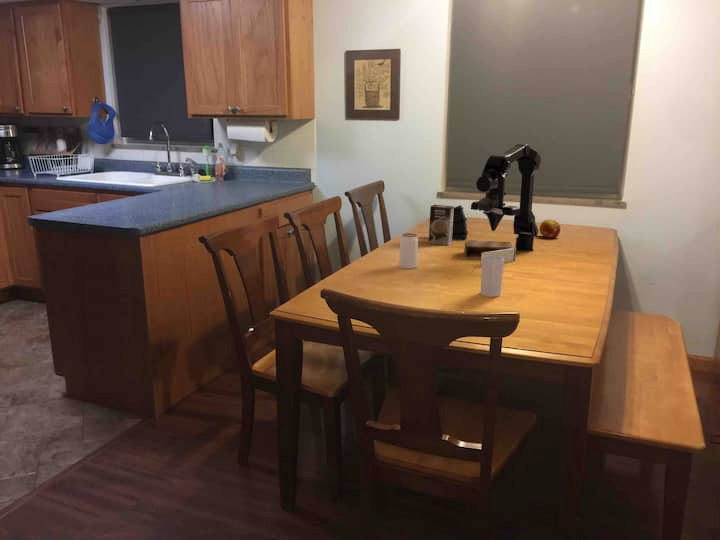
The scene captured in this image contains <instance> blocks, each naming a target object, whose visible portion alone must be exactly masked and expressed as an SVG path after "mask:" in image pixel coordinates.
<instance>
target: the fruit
mask: <svg viewBox="0 0 720 540" xmlns="http://www.w3.org/2000/svg"><path fill="white" fill-rule="evenodd" d="M539 233H540V235H542V236H543V237H545V238H549V239H555V238H557V237H558V236H560V233H561V225H560V223H559V222H557V221H556V220H553V219H545V220H543V221H542V222H541V223H540V225H539Z"/></svg>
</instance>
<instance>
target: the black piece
mask: <svg viewBox="0 0 720 540" xmlns="http://www.w3.org/2000/svg"><path fill="white" fill-rule="evenodd" d="M467 220H468V218H467V217H466V215H465V212H464V207H463V206H462V204H460V205H457V206H454V215H453V229H452V239H453V240H459V239H461V240H463V241H465V240H468V234H469V231H468V225H467Z"/></svg>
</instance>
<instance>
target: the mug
mask: <svg viewBox="0 0 720 540" xmlns="http://www.w3.org/2000/svg"><path fill="white" fill-rule="evenodd" d="M504 264H505V263H504V257H501V256H497V255H485V256H482V266H481V274H480V291H479V292H480V294H481V296H484V297H489V298H496V297H500V296H501V294H502V293H501V292H502V284H503V274H504Z"/></svg>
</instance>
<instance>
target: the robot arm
mask: <svg viewBox="0 0 720 540" xmlns="http://www.w3.org/2000/svg"><path fill="white" fill-rule="evenodd" d="M514 162H517V169H518V171H519V172H520V174H521V184H520V195H519V196H520V198H519V206H516V205H507V206H506V203H505V202H504V199H505V198H504V197H505V196H507V192H505V185H506V177H508V174H507V171H508V170H510V168H511V164H513V163H514ZM541 163H542V158H541V156H540V154H539V152H538V151H536V150H534V149H533V148H531V147H530V145H528V144H523V143H522V144H521V143H518V144H515V145H514V147H511V148H510V149H507V151H504V152H503V153H495V154H491V155H489V157H488V158H487V160H486V162H485V166H484V168H483V170H482V173H481V176H479V178H478V177H477V181H476V183H475V186H476V188H477V190H478V192H480V193H485V197H483V198H481V199H479V200H477V201H472V202H471V204H470V210H474V211H482V214H484V215H485V216H486V217H487V220H488V222H489V226H490V229H491V231H492V232H495V231H496V230H497V228H498V226H499V224H500V222H501V220H502V219H503V218H504V217H505V216H509V217H513V224H512V226H513V227H512V228H513V234H514V235H517V236H516V237H515V245H514V246H515V247H514V248H516V251H524V252H525V251H527V252H534V237H536V238H537V237H538V235H539V232H540V229H539V228H538V225H537V224H536V223H537V222H536V215H535V214H534V212H533V197H534V185H535V184H534V183H535V175H536V174H537V172H538V171H539V169H540V165H541Z"/></svg>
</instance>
